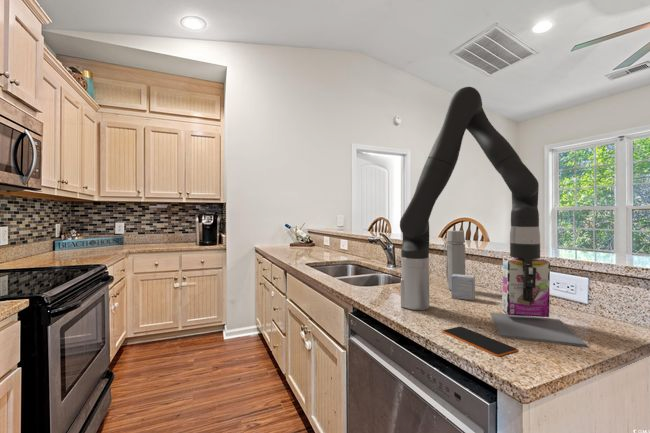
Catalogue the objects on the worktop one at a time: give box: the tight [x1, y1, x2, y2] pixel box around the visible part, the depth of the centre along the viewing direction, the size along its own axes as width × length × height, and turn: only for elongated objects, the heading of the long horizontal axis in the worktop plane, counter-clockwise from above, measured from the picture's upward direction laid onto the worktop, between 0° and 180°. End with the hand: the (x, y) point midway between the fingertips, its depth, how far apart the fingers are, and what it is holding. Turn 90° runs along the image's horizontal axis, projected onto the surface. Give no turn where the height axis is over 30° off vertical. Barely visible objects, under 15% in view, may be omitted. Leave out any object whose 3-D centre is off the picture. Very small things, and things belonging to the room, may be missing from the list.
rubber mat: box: [490, 312, 588, 348], centre depth 84 cm, size 18×19×1 cm
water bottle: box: [441, 230, 466, 291], centre depth 129 cm, size 9×8×25 cm
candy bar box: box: [501, 257, 551, 318], centre depth 90 cm, size 11×5×16 cm, turn 78°
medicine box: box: [450, 274, 476, 301], centre depth 116 cm, size 8×4×9 cm, turn 58°
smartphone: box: [441, 326, 519, 358], centre depth 77 cm, size 8×17×1 cm, turn 25°
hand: (525, 298), depth 90 cm, fingers closed on candy bar box, 5 cm apart
